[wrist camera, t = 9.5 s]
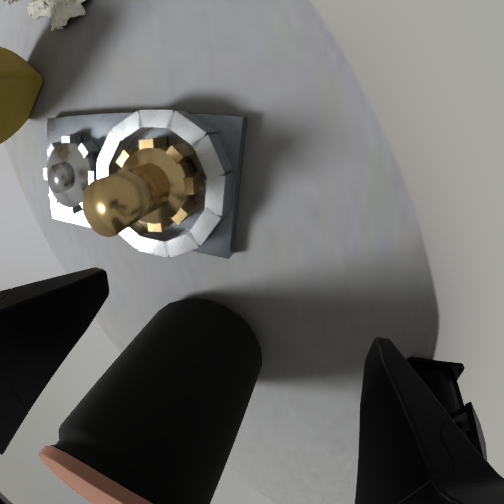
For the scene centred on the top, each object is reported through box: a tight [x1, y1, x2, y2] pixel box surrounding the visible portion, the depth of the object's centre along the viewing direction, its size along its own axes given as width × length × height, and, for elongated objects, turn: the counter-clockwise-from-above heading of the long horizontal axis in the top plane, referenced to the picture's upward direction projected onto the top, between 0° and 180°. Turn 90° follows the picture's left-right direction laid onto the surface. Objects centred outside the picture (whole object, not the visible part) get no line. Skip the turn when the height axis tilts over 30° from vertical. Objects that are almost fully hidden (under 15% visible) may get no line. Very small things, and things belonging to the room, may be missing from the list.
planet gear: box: [82, 136, 205, 237], centre depth 18 cm, size 6×6×7 cm
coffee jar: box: [39, 299, 262, 504], centre depth 19 cm, size 11×11×18 cm
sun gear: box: [43, 134, 99, 215], centre depth 21 cm, size 7×7×3 cm
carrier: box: [47, 110, 247, 259], centre depth 21 cm, size 19×10×2 cm, turn 84°
